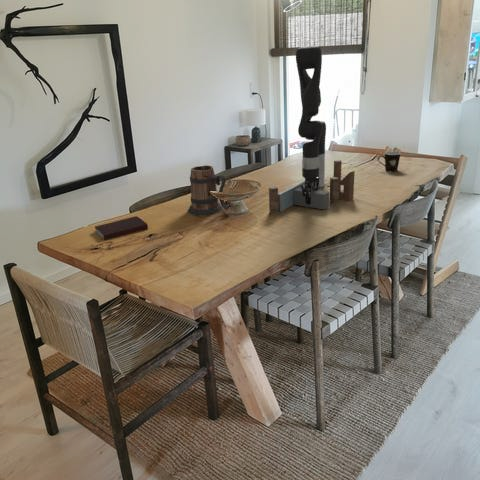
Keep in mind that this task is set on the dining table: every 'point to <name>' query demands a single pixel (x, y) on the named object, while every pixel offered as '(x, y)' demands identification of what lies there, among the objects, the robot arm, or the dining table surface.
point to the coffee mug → (391, 161)
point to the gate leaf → (287, 197)
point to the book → (121, 227)
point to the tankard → (205, 191)
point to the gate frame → (274, 195)
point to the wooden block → (344, 182)
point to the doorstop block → (317, 198)
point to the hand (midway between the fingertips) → (310, 202)
